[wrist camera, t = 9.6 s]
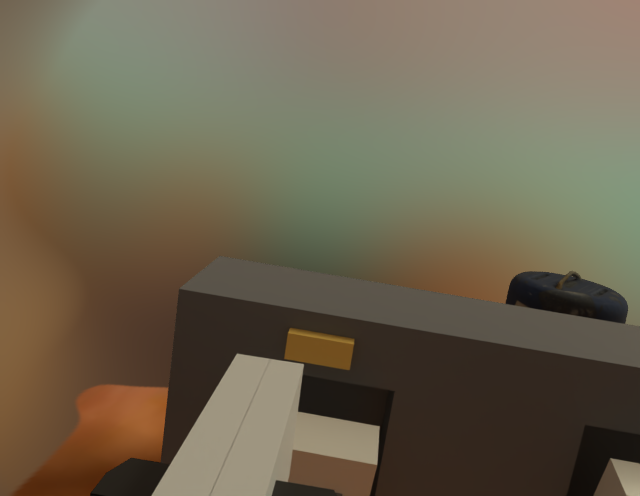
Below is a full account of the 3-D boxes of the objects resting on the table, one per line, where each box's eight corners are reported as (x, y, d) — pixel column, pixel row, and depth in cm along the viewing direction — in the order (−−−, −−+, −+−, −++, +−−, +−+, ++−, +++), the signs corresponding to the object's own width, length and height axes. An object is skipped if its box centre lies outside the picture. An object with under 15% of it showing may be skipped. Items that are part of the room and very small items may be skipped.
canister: (604, 480, 52) (658, 286, 49) (543, 509, 47) (599, 291, 43) (513, 428, 60) (554, 256, 56) (451, 448, 54) (492, 257, 50)
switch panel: (698, 861, 24) (862, 411, 20) (127, 737, 25) (173, 293, 21) (570, 576, 39) (648, 290, 35) (219, 509, 41) (256, 226, 37)
